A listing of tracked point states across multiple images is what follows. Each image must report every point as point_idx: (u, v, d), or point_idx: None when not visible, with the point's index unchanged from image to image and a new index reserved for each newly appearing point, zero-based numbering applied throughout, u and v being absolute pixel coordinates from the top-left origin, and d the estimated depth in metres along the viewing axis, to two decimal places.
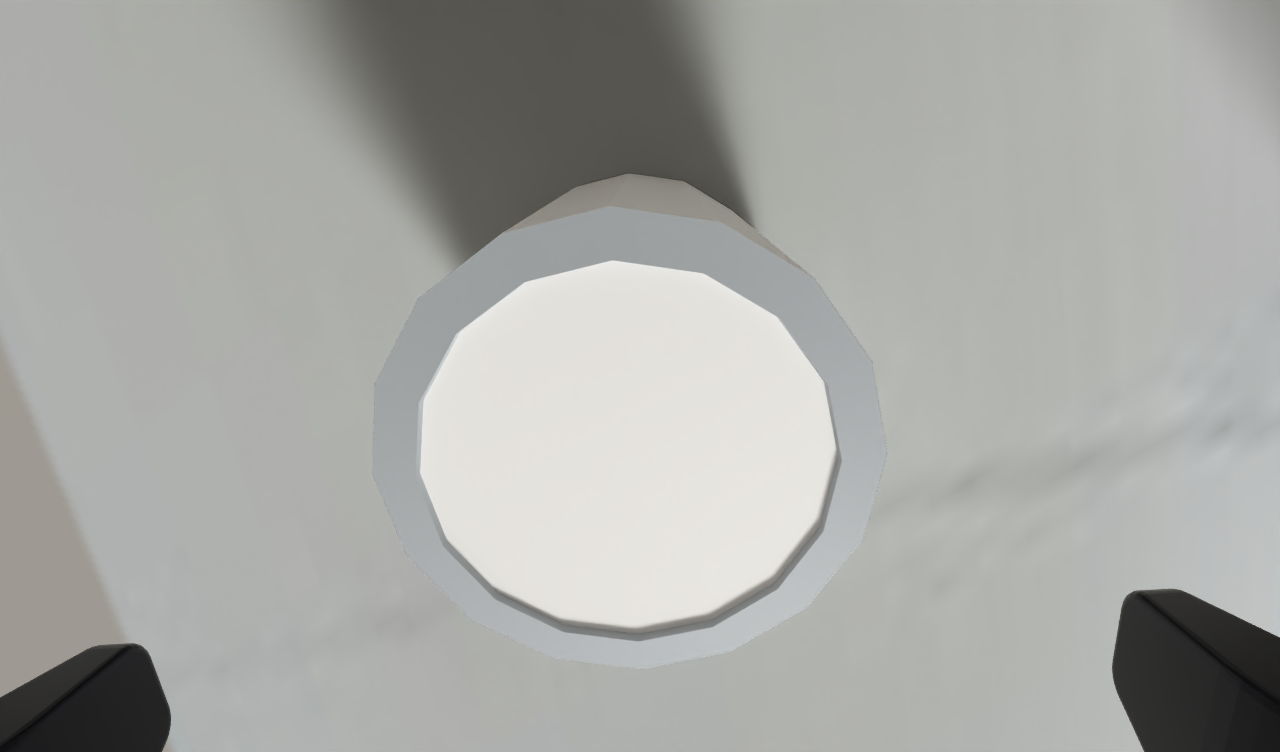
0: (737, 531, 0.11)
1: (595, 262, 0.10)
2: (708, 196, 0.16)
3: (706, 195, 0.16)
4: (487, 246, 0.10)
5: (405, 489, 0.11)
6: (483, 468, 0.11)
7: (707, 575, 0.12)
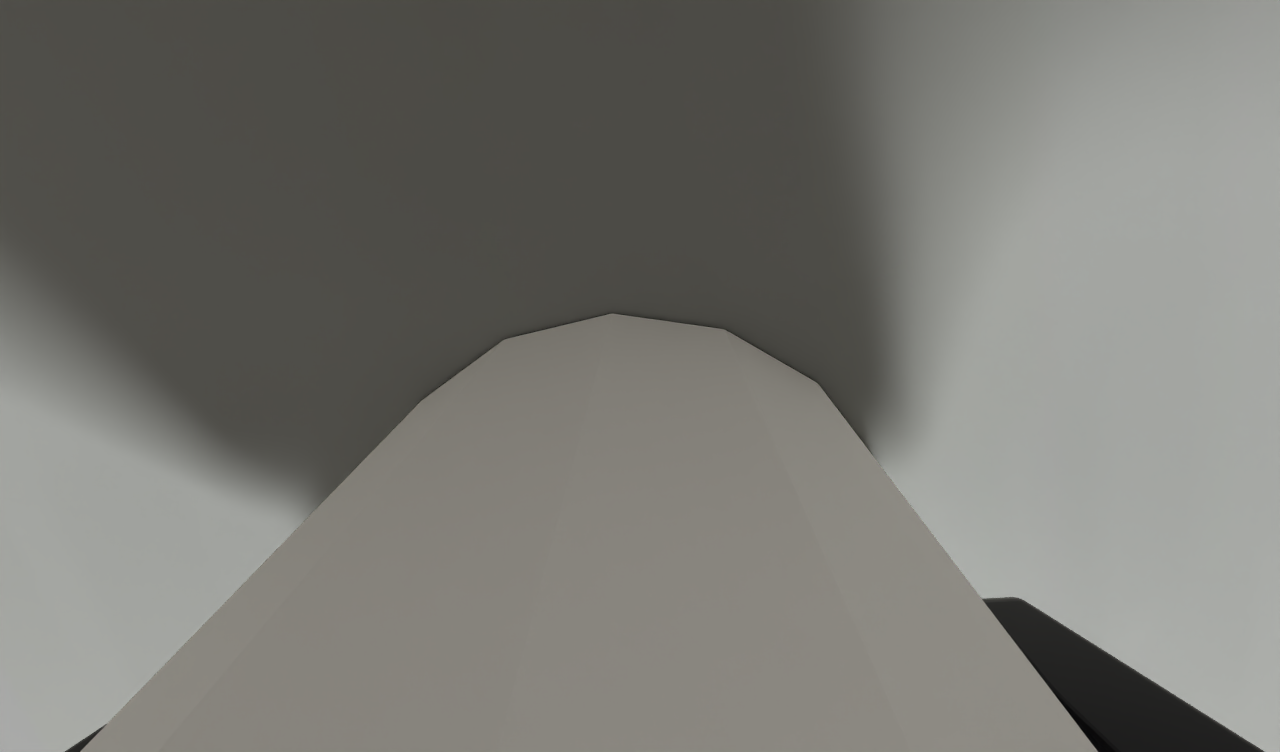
0: None
1: None
2: (775, 363, 0.08)
3: (771, 363, 0.08)
4: None
5: None
6: None
7: None
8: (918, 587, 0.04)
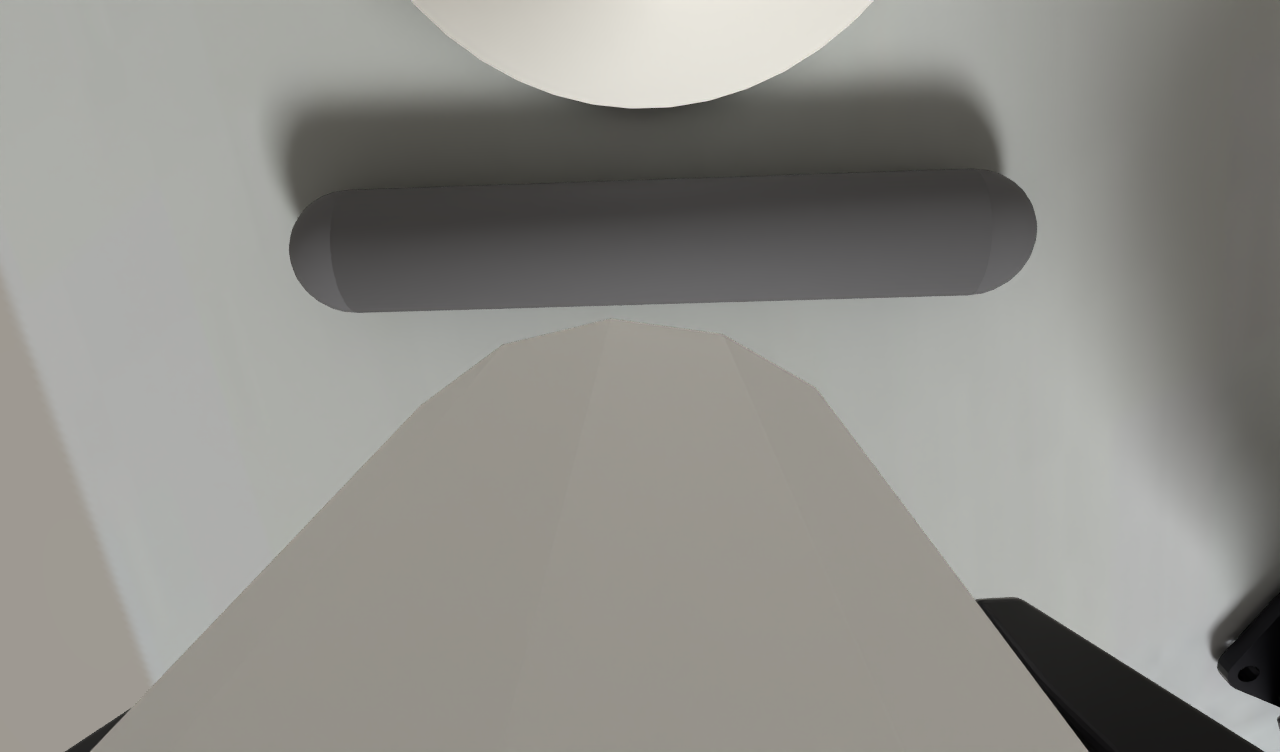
0: None
1: None
2: (773, 368, 0.08)
3: (770, 368, 0.08)
4: None
5: None
6: None
7: None
8: (916, 595, 0.04)
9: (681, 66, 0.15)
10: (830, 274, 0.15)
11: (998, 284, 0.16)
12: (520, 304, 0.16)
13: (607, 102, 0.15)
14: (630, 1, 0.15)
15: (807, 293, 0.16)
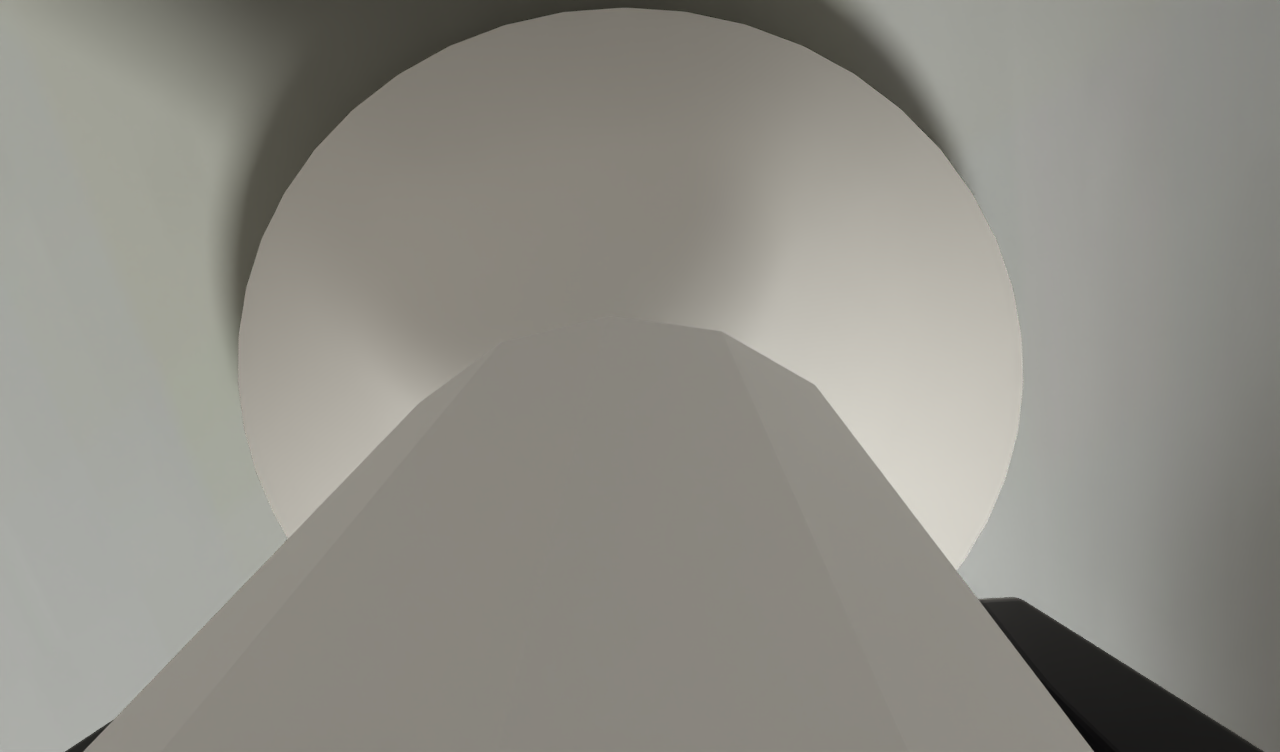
0: None
1: None
2: (772, 365, 0.08)
3: (769, 365, 0.08)
4: None
5: None
6: None
7: None
8: (917, 591, 0.04)
9: None
10: None
11: None
12: None
13: None
14: None
15: None
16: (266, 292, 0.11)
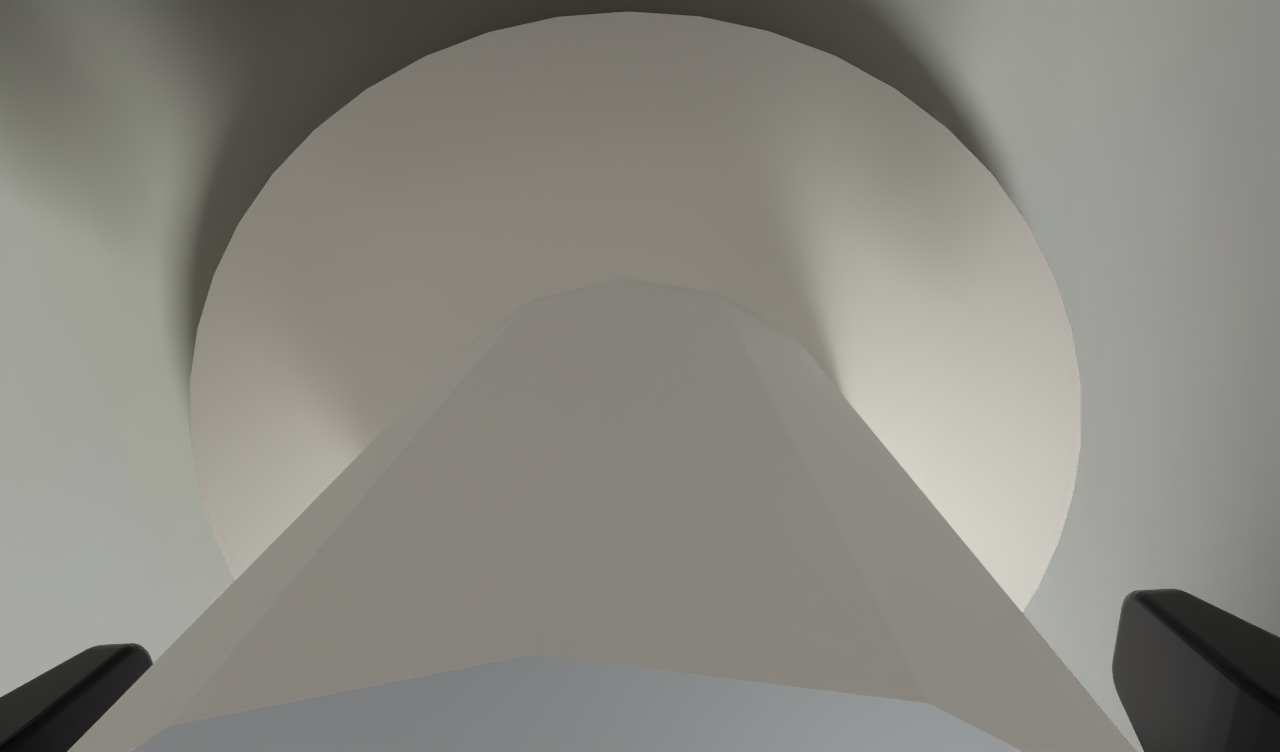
0: None
1: None
2: (760, 321, 0.09)
3: (757, 320, 0.09)
4: None
5: None
6: None
7: None
8: (861, 463, 0.06)
9: None
10: None
11: None
12: None
13: None
14: None
15: None
16: (220, 335, 0.10)
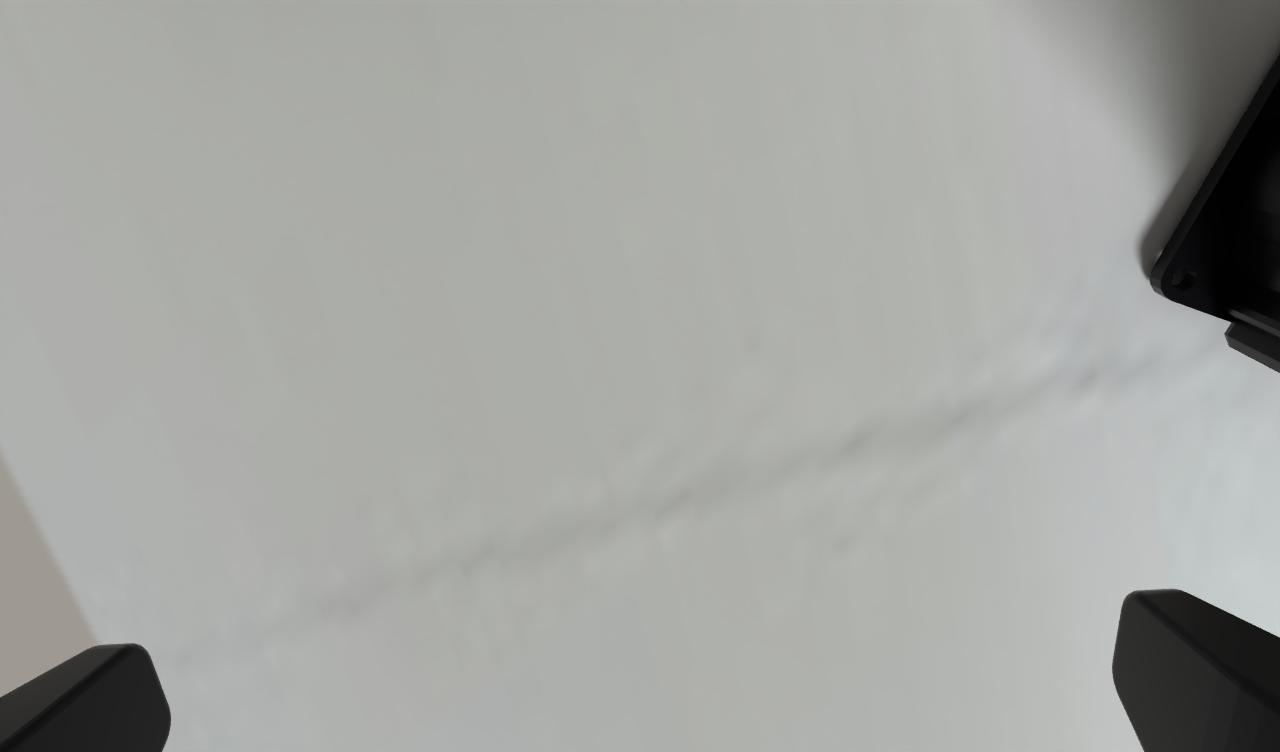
0: None
1: None
2: None
3: None
4: None
5: None
6: None
7: None
8: None
9: None
10: None
11: None
12: None
13: None
14: None
15: None
16: None
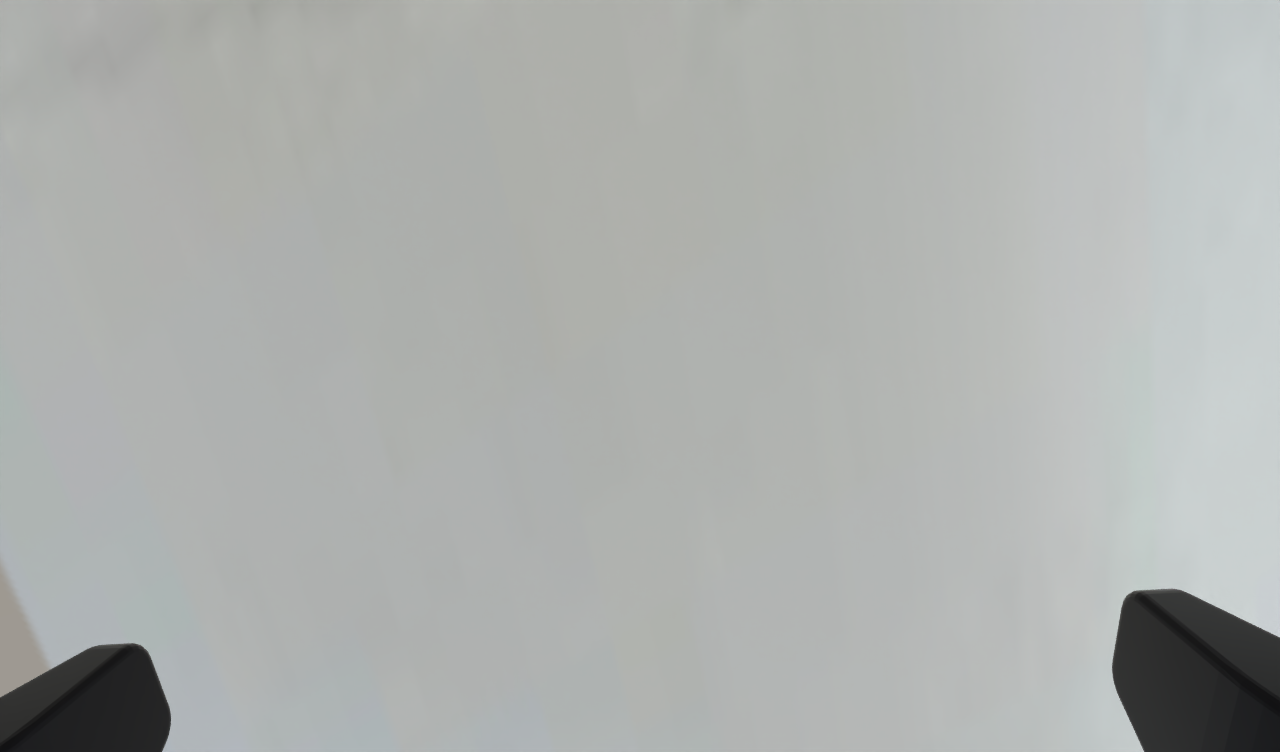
0: None
1: None
2: None
3: None
4: None
5: None
6: None
7: None
8: None
9: None
10: None
11: None
12: None
13: None
14: None
15: None
16: None
